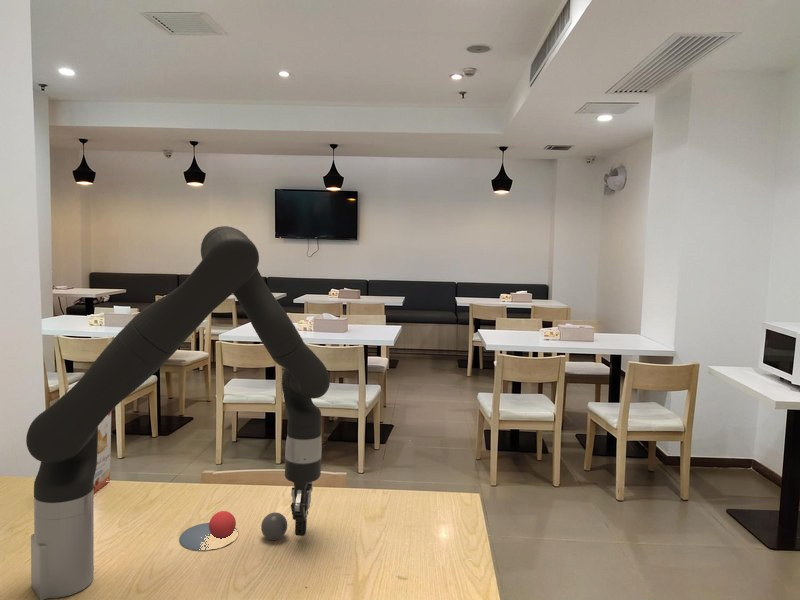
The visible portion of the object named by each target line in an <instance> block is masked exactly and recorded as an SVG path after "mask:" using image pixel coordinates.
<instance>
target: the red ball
mask: <svg viewBox="0 0 800 600" xmlns="http://www.w3.org/2000/svg"><path fill="white" fill-rule="evenodd" d="M208 523H209V530H210V533H211V534H212V535H213V536H214V537H216V538H220V539H222V538H226V537H228V536H230V535H231V534H232V533H233V531H234V529H235V528H236V526H237V523H236V518H235V515H233V513H231V512H230V511H227V510H221V511H220V510H219V511H217V512H216V513H215V514H213V515H212V517H210V520H209V522H208Z"/></svg>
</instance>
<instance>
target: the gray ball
mask: <svg viewBox="0 0 800 600" xmlns="http://www.w3.org/2000/svg"><path fill="white" fill-rule="evenodd" d="M262 519H263V520H262V521H261V525H260V526H261V527H260V529H261V534H262V535H263V536H264V537H265V538H266V539H267V540H270V541H276V539H277V540H279V539H281V538H282V537H284V536H285V534H286V532H287V529H288V521H287V518H286V517H285V516H284V515H283V514H282V513H280V512H275V511H274V512H270V513H269V514H266V516H265V517H264V518H262Z"/></svg>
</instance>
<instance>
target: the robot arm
mask: <svg viewBox="0 0 800 600" xmlns="http://www.w3.org/2000/svg"><path fill="white" fill-rule="evenodd" d="M200 245H201V246H200V257H201V261H200V262H199V264H198V265H197V267H196V268H195V269H194V270H193V271H192V272H190V275H188V276H187V278H186V279H185V280H184V281H183V282H182V283H181V284H180V285H179V286H177V288H175V289H173V290H172V291H171V292H169V293H168V294H166V295H164V296H162V297H160V298H158V299H157V300H155V301H154V302H152V303H151V304H149V305H148V306H146V307H145V308H143V309H142V310H140V311H139V312H138V313H137V314H136V315H135V316H134V317H133V318H132V319H131V320H130V321H129V322H127V324H126V325H125V326H124V327H123V328H122V329H121V330H120V331H119V332H118V333H117V335H116V336H115V337H114V338H113V339H112V341H110V343H109V344H108V345H107V346H106V347H105V348H104V349H103V351H102V352H101V353H100V354H99V355H98V357H96V359H95V360H94V361H93V362H92V364H91V365H90V367H89V368H88V370H86V372H85V373H84V374H83V376H82V377H81V378H80V379H79V380H78V381H77V382H76V384H74V385H73V387H71V388H70V389H69V390H68V391H67V392H65V394H63V395H62V396H61V397H60V398H59V399H57V401H55V402H54V403H53V404H52V405H50V406H49V407H47V408H46V409H44V410H43V411H42V412H41V413H39V415H37V416H36V417H35V418H34V419H33V420H32V422H30V424H29V427H28V429H27V433H26V438H25V439H26V440H25V441H26V443H25V444H26V448H27V451H28V452H29V454H30V455H31V457H33V459H35V460H36V461H39V462H40V465H39V467H38V472H37V475H36V477H35V479H34V483H33V516H34V518H33V520H34V521H33V522H34V524H33V525H34V527H33V528H34V530H33V531H34V534H31V536H30V576H31V577H30V583H31V584H30V585H31V587H32V589H33V591H34V592H35V595H36V596H37V598H38V599H39V600H47V599H57V598H64V597H68V596H71V595H74V594H77V593H79V592H81V591H83V590H84V589H86V588H87V587H88V586H90V585H91V583H92V582H93V580H94V570H95V568H94V567H95V566H94V556H95V555H94V550H95V549H94V547H95V546H94V541H95V540H94V539H95V538H94V536H95V535H94V534H95V533H94V525H95V524H94V522H95V521H94V517H95V515H94V510H95V509H94V506H95V504H94V503H95V502H94V501H95V500H94V495H95V493H94V476H95V472H96V467H97V449H98V426H99V424H100V423H101V422H102V421H103V419H104V418H105V417H106V416H107V415H108V414H109V413H110V411H111V412H112V411H113V409H114V408H116V407H117V406H118V405H119V404H120V403H121V402H123V401H124V400H125V399H126V398H128V397H129V396H130V395H131V394H132V393H133V392H135V391H136V390H137V389H138V388H139V387H141V386H142V385H143V384H144V383H145V382H147V380H149V379H150V378H151V377H152V376H153V375H154V374H155V373H156V372H157V371H158V370H160V368H161V367H162V366H163V365H164V364H165V363H166V362H167V361H169V359H170V358H171V357H172V356H173V355H174V354H175V353H176V352H177V351H178V349H179V348H181V346H182V345H183V343H184V342H186V341H187V340H188V339H189V337H190V336H191V335H193V333H194V332H195V331H197V329H198V328H199V327H200V325H201V324H202V323H203V322H204V321H205V319H207V318H208V317H209V315H210V314H211V313H212V312H214V310H216V308H218V307H219V306H220V305H221V304H222V303H224V302H225V300H227V299H228V298H229V297H231V295H233V296H234V297H235V298H236V300H237V302H238V303H239V305H240V306H241V308H242V310H243V311H244V313H245V315H246V316H247V318H248V320H249V322H250V323H251V326H252V328H253V330H254V332H255V333H256V334H257V336H258V338H259V340H260V342H261V343H262V345H263V346H264V347H265V349H266V351H267V352H268V354H269V355H270V357H271V358H272V360H273V361H274V362H275V363H276V364H277V365H278V366H280V367H282V368H284V369H283V373H282V377H281V387H282V388H281V389H282V393H283V394H282V395H283V401H284V404H285V405H284V406H285V409H286V413H287V424H286V425H287V430H286V431H287V433H286V434H287V435H286V443H285V450H284V452H285V453H284V454H285V456H284V478H285V479H286V480H288V481H289V482H292V483H293V487H291V490H290V491H291V493H290V494H291V495H290V496H291V497H292V499H291V500H292V502H291V504H290V509H291V510H290V511H291V515H292V520H293V521H294V522H295V523H294V525H295V528H294V535H295V536H299V537H304V536H305V535H306V533H307V528H308V527H307V524H308V522H307V521H308V515H309V509H310V506H311V502H312V491H313V489H314V488H313V487H314V484H313V483H314V482H316V481H318V480H319V479H320V477H321V474H322V471H321V470H322V449H323V448H322V445H323V444H322V435H321V434H322V411H321V409H320V408H319V407H317V406H316V405H315V404H314V402H313V399H319V398H322V397H323V396H324V395H325V394H327V392H328V390H329V387H330V383H331V379H330V373H329V371H328V369H327V367H326V366H325V364H324V362H322V361H321V359H320V358H319V357H318V356H317V354H315V352H313V350H312V349H311V348H309V346H308V345H307V344H306V343H305V342H304V340H303V338H302V336H301V335H300V333H299V331H298V329H297V328H296V326H295V324H294V323H293V322H292V320H291V318H290V317H289V315H288V314H287V313H286V311H285V309H284V308H283V307H282V305H281V304H280V302H279V301H278V300H277V298H276V297H275V295H274V294H273V293H272V291H271V290H270V288H269V287H268V285H267V283H266V281H265V280H264V278H263V276H262V275H261V273H260V271H259V269H258V267H259V263H260V255H259V250H258V249H257V246H256V244H255V243H254V242H253V241H252V240H251V239H250V238H249V237H248V236H247V235H246V234H245V233H244V232H243V231H241V230H239V229H238V228H235V227H233V226H228V225H221V226H217V227H214V228H213V229H210V230H209V231H208V232H207V233H206V234H205V235H204V237H203V239H202V242H201V244H200Z"/></svg>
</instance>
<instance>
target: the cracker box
mask: <svg viewBox="0 0 800 600" xmlns="http://www.w3.org/2000/svg"><path fill="white" fill-rule="evenodd" d="M111 435H112V410H111V411H110V413H109V414H108V415H107V416H106V417H105V418H104V419H103V421H102V422H101V423H100V424H99V426H98V449H97V467H96V472H95V476H94V494H96V493H98V492H99V491H100V490H101V489H102V488H104V487H105V486H106V485H108V484H109V483H110V482H111V449H112V448H111V447H112V446H111V444H112V442H111V441H112V440H111V439H112V437H111ZM106 481H110V482H106Z"/></svg>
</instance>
